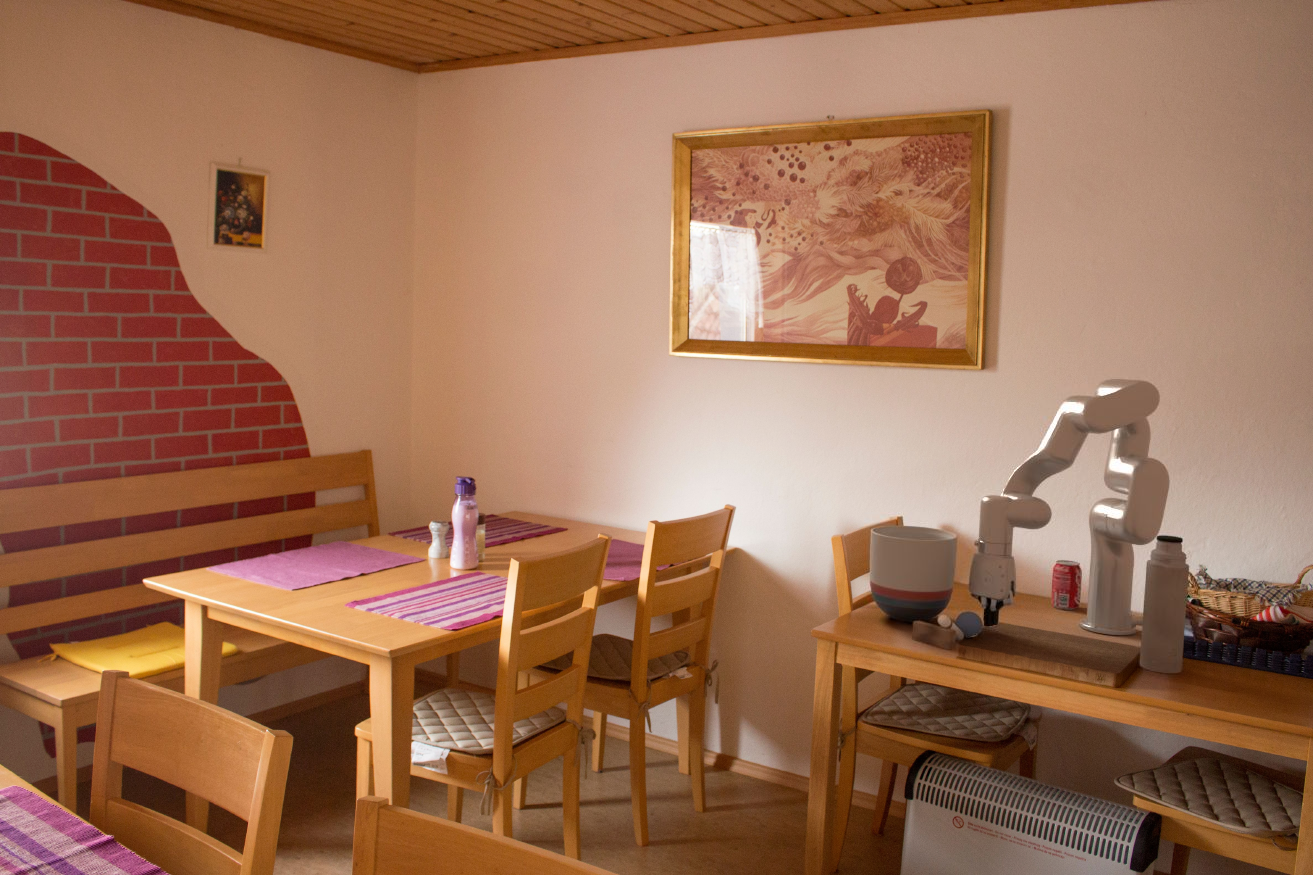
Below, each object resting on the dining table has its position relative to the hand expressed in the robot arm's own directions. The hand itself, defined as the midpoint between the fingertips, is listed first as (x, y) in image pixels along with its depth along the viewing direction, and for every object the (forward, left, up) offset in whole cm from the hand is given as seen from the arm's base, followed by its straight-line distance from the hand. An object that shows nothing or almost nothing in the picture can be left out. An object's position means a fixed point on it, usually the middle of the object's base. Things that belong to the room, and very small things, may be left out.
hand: (990, 625), depth 240 cm
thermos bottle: (-35, +11, -2) cm, 37 cm away
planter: (+19, -2, -2) cm, 19 cm away
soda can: (-15, -36, -2) cm, 39 cm away
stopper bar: (+11, +17, -2) cm, 20 cm away
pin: (+6, +11, 0) cm, 12 cm away
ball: (+4, +8, +2) cm, 9 cm away
